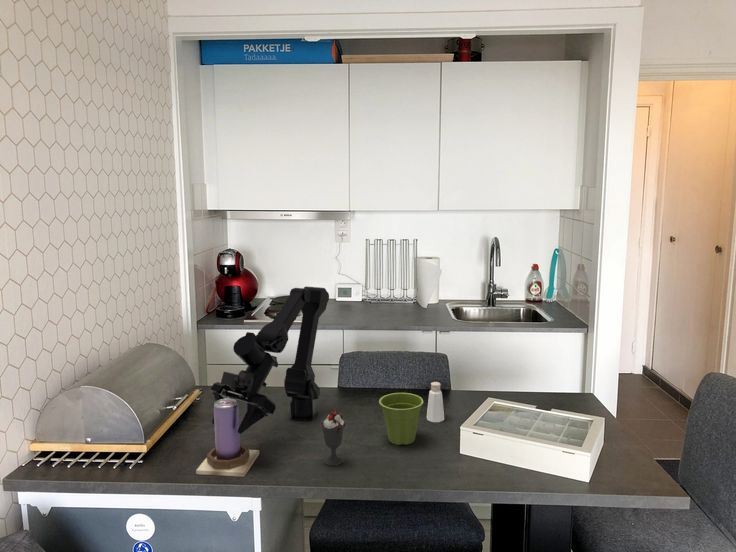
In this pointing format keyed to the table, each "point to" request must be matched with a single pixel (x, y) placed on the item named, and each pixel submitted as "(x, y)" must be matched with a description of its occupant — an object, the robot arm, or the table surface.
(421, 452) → the table surface
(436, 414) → the salt shaker
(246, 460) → the board
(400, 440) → the plant pot
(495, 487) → the table surface
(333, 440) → the sundae
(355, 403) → the table surface
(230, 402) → the beverage can
